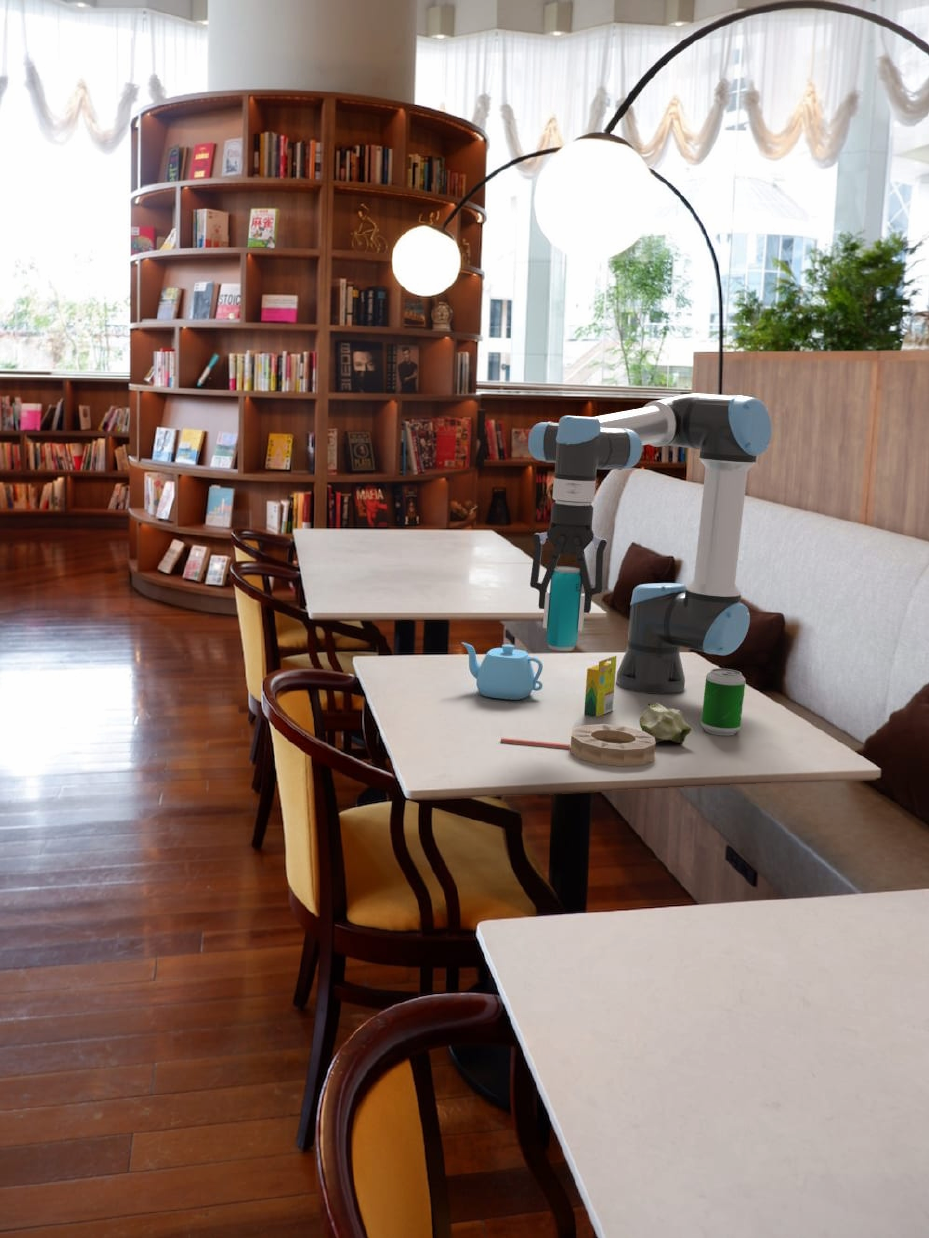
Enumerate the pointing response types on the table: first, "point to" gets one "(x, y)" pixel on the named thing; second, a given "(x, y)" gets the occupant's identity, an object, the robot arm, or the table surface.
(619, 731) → the tan flat ring
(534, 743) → the stick
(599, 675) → the crayon box
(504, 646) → the teapot
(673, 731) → the fruit
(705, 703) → the soda can
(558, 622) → the beverage can
